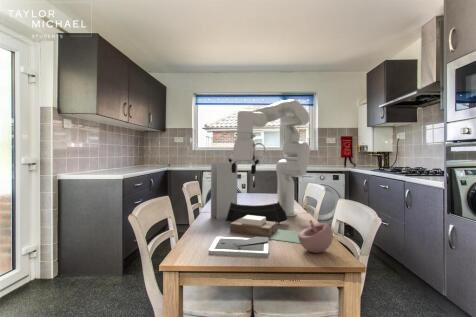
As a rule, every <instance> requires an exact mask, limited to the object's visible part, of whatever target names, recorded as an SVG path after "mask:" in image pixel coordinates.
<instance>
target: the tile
mask: <svg viewBox="0 0 476 317" xmlns="http://www.w3.org/2000/svg"><path fill="white" fill-rule="evenodd" d="M265 222H266V217H262V216H253V215H246V216H245V217H243V218H242V224H250V225H258V226H261V225H263V224H264V223H265Z"/></svg>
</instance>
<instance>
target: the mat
mask: <svg viewBox="0 0 476 317" xmlns="http://www.w3.org/2000/svg"><path fill="white" fill-rule="evenodd" d="M300 232H301V231H294V230H286V229H277V231H276V232H275V233H274V234H273V235H272V236H271V237H269V238H268V240H273V241H279V242H284V243H285V242H286V243H294V244H300V245H301V243H300V241H299V238H298V234H299V233H300Z"/></svg>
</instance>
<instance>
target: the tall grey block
mask: <svg viewBox="0 0 476 317" xmlns="http://www.w3.org/2000/svg"><path fill="white" fill-rule="evenodd" d="M210 163H211V164H210V218H211V217H213V218H216V220H217V219H218V220H222V218H223V219H226V218H227V214H228V211H229V208H230V204H231V202H232V203H234V204H238V161H237V162H236V163H235V164H236V173H232V171H231V168H232V164H231V163H230V162H229V161H216V162H215V161H214V162H213V161H212V162H210Z"/></svg>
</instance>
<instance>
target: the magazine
mask: <svg viewBox="0 0 476 317" xmlns="http://www.w3.org/2000/svg"><path fill="white" fill-rule="evenodd" d="M246 215H253V216H262V217H266V221H272V222H277V224H278V225H281V224H280V223H282V222H286V221H287V219H288V216H286V213H285V210H284V208H283V206H282V204H281V205H280V203H279V202H278V203H277V202H275V203H274V202H273V203H270V204H269V203H268V204H262V205H259V204H258V205H252V204H251V205H250V204H239V203H237V204H234V203H232V202H231V204H230V208H229V211H228V214H227V218H225V220H224V221H225V222H228V223H232V222H234V221H236V220H238V219H240V218H243V217H245V216H246Z"/></svg>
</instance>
